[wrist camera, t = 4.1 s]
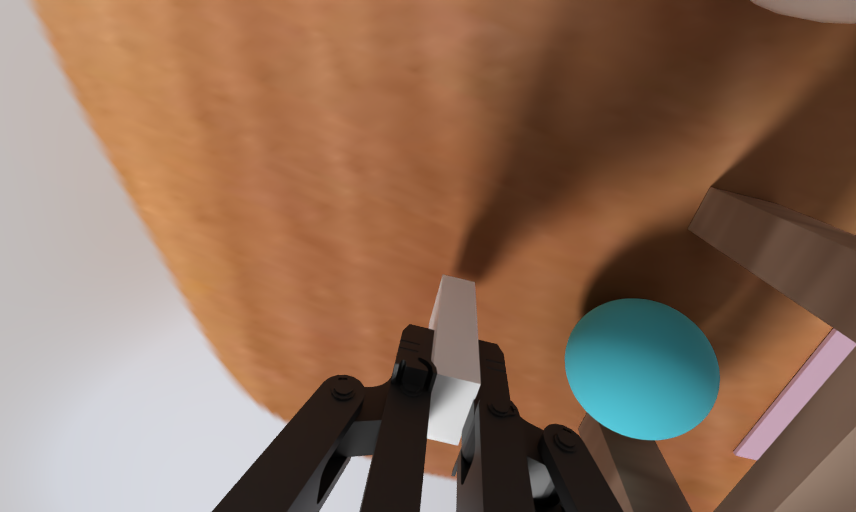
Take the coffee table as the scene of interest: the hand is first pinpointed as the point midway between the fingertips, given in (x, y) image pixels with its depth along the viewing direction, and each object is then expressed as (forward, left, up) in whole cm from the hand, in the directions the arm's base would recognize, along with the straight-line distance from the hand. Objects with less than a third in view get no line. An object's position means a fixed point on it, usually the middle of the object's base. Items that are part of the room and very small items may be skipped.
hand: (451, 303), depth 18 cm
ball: (0, +9, +1) cm, 9 cm away
